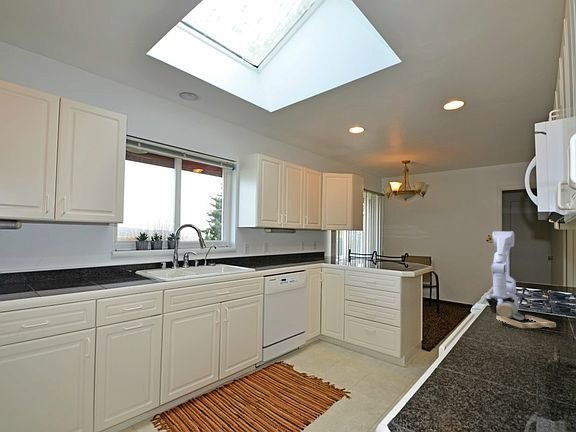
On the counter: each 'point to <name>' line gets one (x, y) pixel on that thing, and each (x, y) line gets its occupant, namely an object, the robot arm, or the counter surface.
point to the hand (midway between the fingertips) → (500, 312)
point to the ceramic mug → (509, 310)
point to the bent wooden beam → (540, 323)
